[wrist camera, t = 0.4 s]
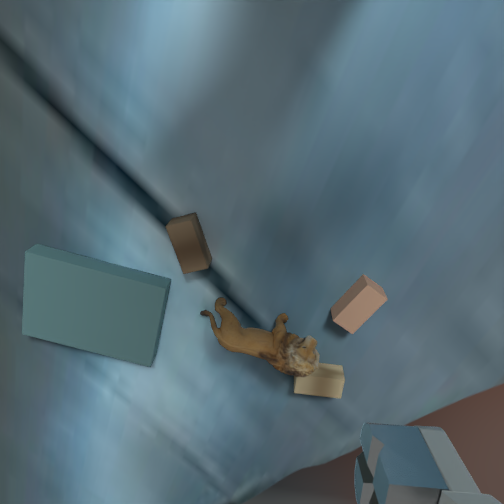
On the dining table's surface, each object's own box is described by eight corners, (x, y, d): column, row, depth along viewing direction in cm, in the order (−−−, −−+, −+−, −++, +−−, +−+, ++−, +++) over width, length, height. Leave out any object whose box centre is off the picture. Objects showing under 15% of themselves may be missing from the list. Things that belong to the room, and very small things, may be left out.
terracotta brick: (363, 273, 50) (367, 284, 47) (382, 287, 50) (387, 299, 47) (330, 307, 52) (332, 320, 49) (348, 320, 52) (352, 334, 49)
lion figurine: (319, 308, 52) (325, 353, 43) (312, 344, 54) (316, 392, 45) (202, 293, 52) (186, 334, 44) (200, 328, 54) (184, 374, 46)
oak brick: (293, 377, 56) (294, 392, 53) (296, 359, 55) (297, 374, 52) (338, 382, 56) (340, 398, 53) (341, 364, 55) (344, 380, 52)
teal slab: (36, 243, 51) (25, 251, 49) (171, 279, 52) (165, 288, 49) (32, 323, 56) (21, 334, 53) (155, 355, 56) (150, 367, 54)
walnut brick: (172, 218, 49) (165, 226, 46) (196, 211, 48) (190, 219, 45) (189, 263, 51) (183, 274, 48) (212, 257, 50) (208, 268, 47)
